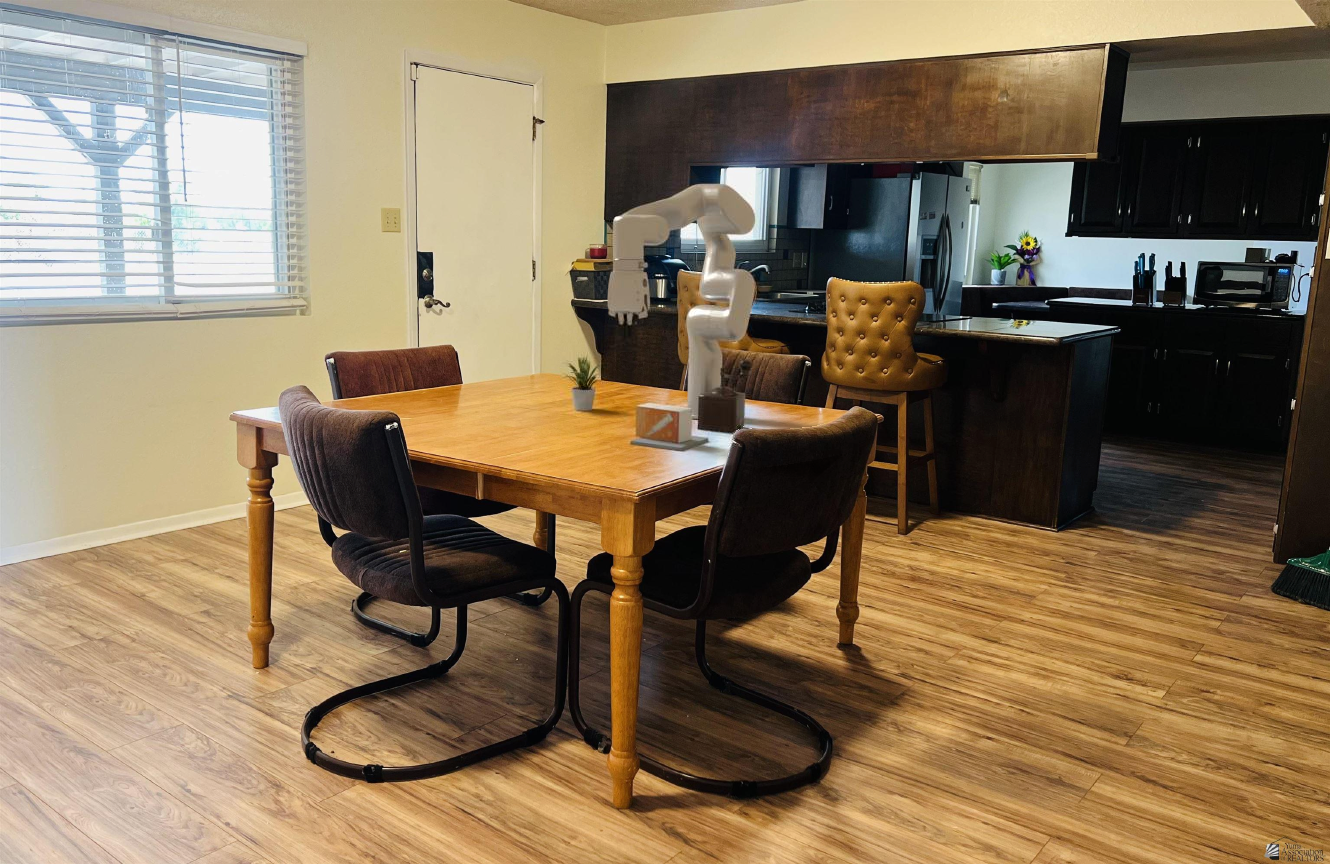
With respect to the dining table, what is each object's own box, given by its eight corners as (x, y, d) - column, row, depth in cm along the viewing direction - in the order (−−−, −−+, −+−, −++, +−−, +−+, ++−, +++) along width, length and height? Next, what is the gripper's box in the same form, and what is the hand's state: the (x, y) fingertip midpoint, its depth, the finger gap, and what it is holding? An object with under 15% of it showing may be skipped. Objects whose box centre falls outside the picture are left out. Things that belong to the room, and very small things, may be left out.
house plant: (549, 406, 303) (549, 351, 300) (593, 403, 309) (594, 350, 306) (565, 414, 290) (566, 356, 287) (610, 411, 296) (611, 355, 293)
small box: (635, 405, 255) (679, 411, 248) (649, 402, 260) (693, 407, 253) (634, 437, 256) (678, 443, 249) (648, 433, 262) (692, 439, 255)
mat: (659, 434, 264) (659, 431, 264) (708, 441, 258) (708, 437, 258) (630, 444, 251) (630, 440, 251) (680, 451, 245) (680, 447, 245)
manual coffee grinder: (735, 433, 269) (738, 365, 265) (696, 429, 273) (698, 362, 269) (752, 424, 283) (755, 359, 280) (714, 420, 287) (717, 356, 284)
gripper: (661, 266, 254) (661, 340, 257) (610, 264, 260) (610, 336, 264) (647, 268, 247) (646, 343, 251) (594, 266, 254) (594, 339, 258)
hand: (627, 339), depth 258 cm, fingers closed
